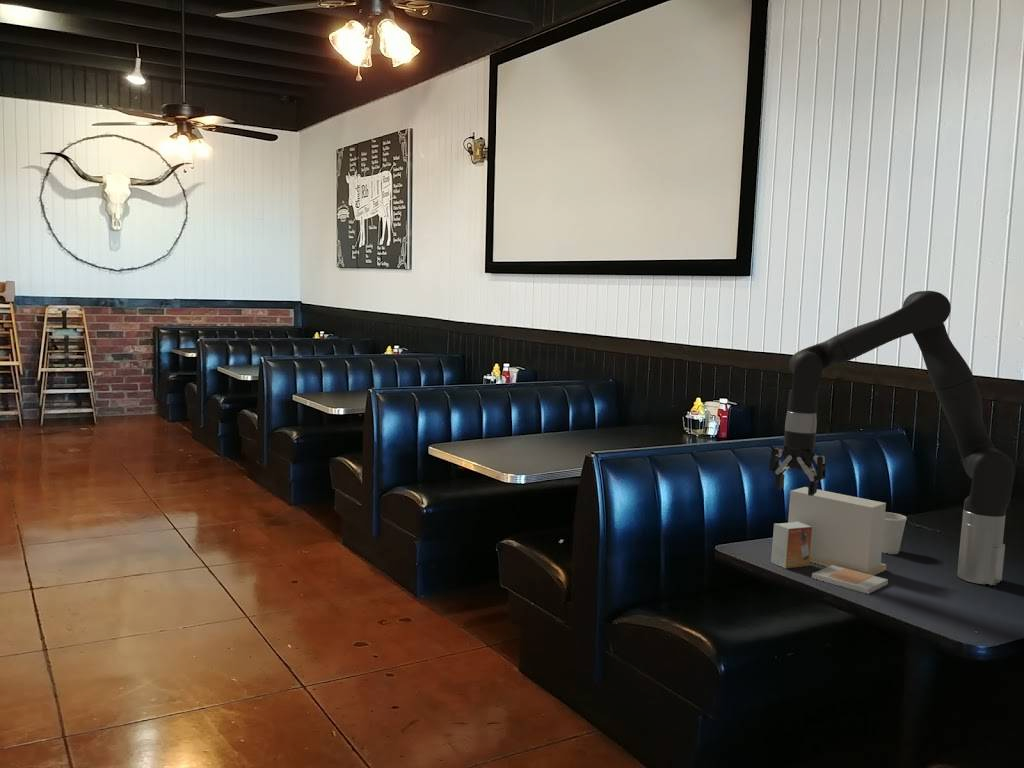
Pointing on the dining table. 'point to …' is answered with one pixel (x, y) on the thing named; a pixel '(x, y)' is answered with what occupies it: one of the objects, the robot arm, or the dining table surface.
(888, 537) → the dixie cup
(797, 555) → the small box
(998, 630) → the dining table surface
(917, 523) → the dining table surface
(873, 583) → the pad
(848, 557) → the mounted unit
